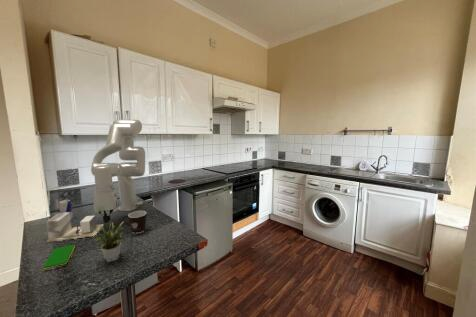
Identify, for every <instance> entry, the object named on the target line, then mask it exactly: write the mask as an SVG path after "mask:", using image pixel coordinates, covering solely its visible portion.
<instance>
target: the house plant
mask: <svg viewBox="0 0 476 317" xmlns="http://www.w3.org/2000/svg"><path fill="white" fill-rule="evenodd" d="M124 222H126V220H124V221H123V220H122V222H121V223H120V224H119V225H118V226H116V225H114V222H112V221H111V222H109V223H110V224H109V226H108V227H109V229H108V231H106V229H105V228H104V226H101V224H99V225H100V226H101V227H100V226H99V228H101V230H100V231H97V230H95V229H93V230H95V231H97V232H98V234H99V235H98V234H96V236H97V237H94V236H93V237H92V238H94V242H102V243H101V244H100V245H101V248H100V249H101V253H102V254H103V258H104V259H105V258H106V259H110V258H114V257H116V256H118V255H119V254H121V246H122V242H124V238H123V236H122V234H123V231H120V232H119V230H123V229H124V228H125V227H122V225H123V224H125V223H124ZM115 227H116V229H114V228H115ZM101 231H102V232H103V233H102V232H101ZM100 235H101V236H102V237H101V236H100ZM98 245H99V243H96V246H98Z"/></svg>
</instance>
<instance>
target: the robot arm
mask: <svg viewBox="0 0 476 317" xmlns="http://www.w3.org/2000/svg"><path fill="white" fill-rule="evenodd" d="M142 130H143V125H142V122H141V121H140V120H139V119H115V120H113V121H112V124H111V125H110V126H109V129H108V133H107V138H106V143H105V145H104V146H103V147H102V148H101V149H99V150H98V151H97V152H96V153H95V155H94V156H93V159H92V162H91V167H90V171H91V174H92V176H93V177H94V183H95V184H94V188H95V191H94V195H93V213H94V214H100V215H101V217H102V221H103V224H108V223H110V222H111V214H113V213H114V212H117V211H120V212H129V211H130V212H131V211H133V210H136V209H138V208H139V206H141V205H143V201H142V200H140V201H139V200H138V199H137V197H136V186H135V185H136V183H135V180H134V179H133V178H134V177H136V178H137V177H143V176H144V175H145V173H146V150H145V148H144V147H143V146H135V144H134V143H135V141H134V140H135V139H134V138H135V137H137V136H138V135H139V134H140V133H141V131H142ZM116 153H118V157H119V159H120V160H121V161H124V162H119V163H118V162H103V160H105V159H106V158H107V157H109V156H111V155H113V154H116ZM125 161H130V162H125ZM132 161H133V162H132ZM134 161H135V162H134ZM113 177H117V181H118V182H117V184H118V195H119V204H118V196H117V192H116V190H115V189H117V187H116V186H115V185H114V184H113ZM118 205H119V206H118Z"/></svg>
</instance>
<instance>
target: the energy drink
mask: <svg viewBox="0 0 476 317" xmlns="http://www.w3.org/2000/svg"><path fill="white" fill-rule="evenodd" d="M58 207H59V213H65V212H70V219H71V221H73V219H74V214H73V207H72V200H71V199H63V200H59V202H58Z"/></svg>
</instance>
